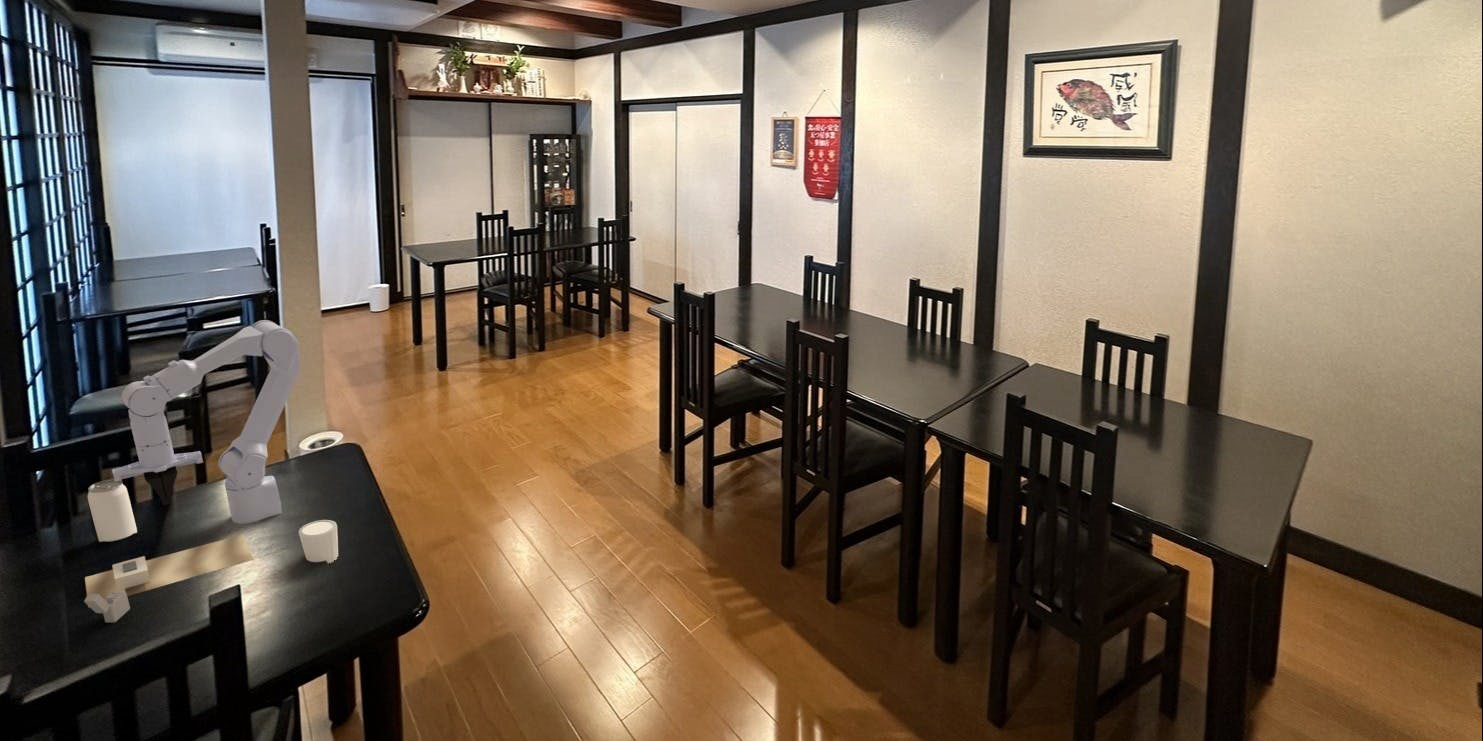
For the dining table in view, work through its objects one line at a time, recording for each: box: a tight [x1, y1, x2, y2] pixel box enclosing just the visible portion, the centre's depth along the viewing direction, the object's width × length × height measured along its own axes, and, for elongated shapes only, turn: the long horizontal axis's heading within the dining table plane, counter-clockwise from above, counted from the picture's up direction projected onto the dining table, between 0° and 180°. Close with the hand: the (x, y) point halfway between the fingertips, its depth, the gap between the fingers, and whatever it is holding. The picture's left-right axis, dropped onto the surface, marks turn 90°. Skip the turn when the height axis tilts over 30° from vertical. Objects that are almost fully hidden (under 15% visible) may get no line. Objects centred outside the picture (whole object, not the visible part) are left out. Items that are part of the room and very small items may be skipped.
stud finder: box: [111, 555, 150, 591], centre depth 152 cm, size 5×6×3 cm
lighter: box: [83, 591, 131, 623], centre depth 140 cm, size 7×2×8 cm, turn 3°
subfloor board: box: [84, 534, 255, 608], centre depth 157 cm, size 26×12×1 cm, turn 130°
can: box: [87, 479, 138, 543], centre depth 167 cm, size 6×6×12 cm
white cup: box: [298, 519, 339, 565], centre depth 162 cm, size 7×7×7 cm
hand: (167, 502), depth 164 cm, fingers closed
